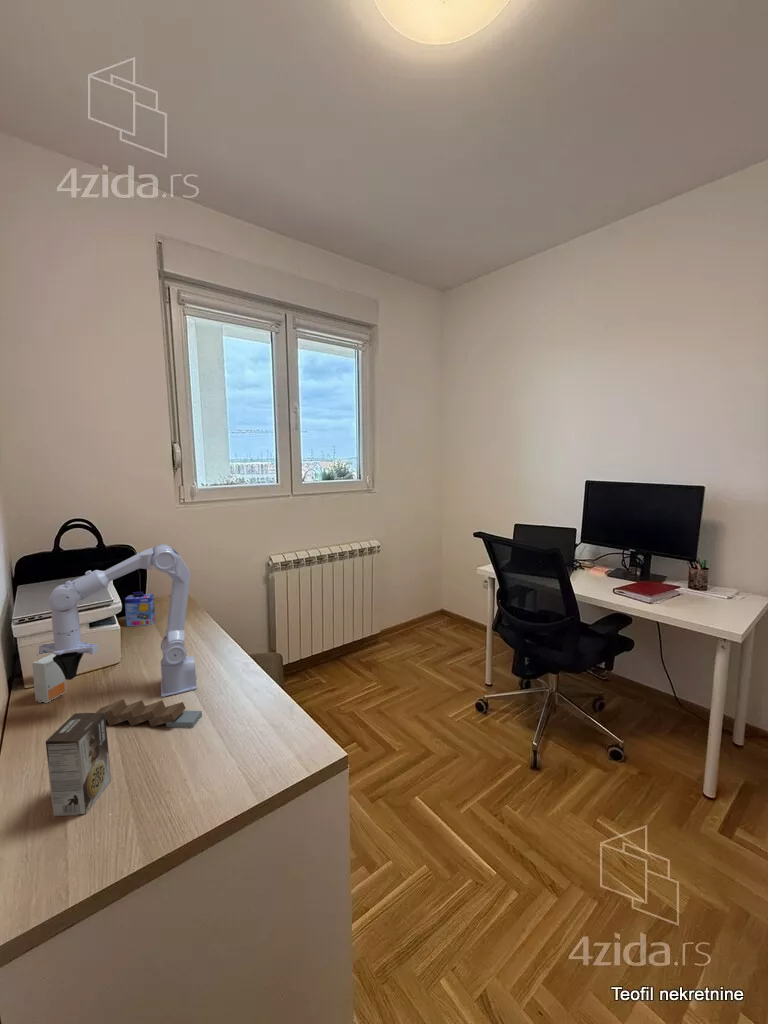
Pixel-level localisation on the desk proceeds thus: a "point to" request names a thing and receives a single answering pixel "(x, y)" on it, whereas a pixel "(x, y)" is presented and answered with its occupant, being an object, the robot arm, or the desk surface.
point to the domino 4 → (168, 714)
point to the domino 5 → (186, 719)
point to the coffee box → (78, 763)
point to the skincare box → (48, 679)
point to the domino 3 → (147, 713)
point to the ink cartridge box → (139, 609)
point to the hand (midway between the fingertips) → (71, 677)
